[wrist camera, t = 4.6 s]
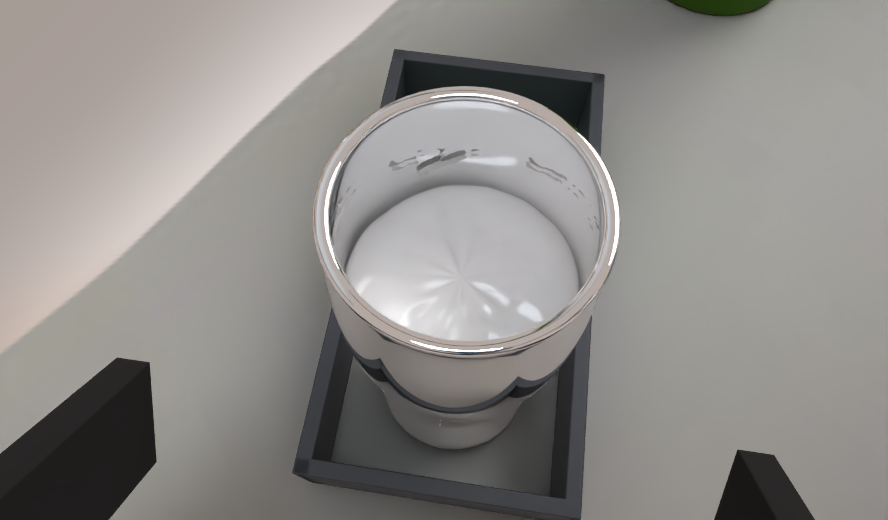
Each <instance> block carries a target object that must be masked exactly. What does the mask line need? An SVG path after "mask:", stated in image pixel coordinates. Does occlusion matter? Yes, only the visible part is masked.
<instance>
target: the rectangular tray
mask: <svg viewBox="0 0 888 520" xmlns="http://www.w3.org/2000/svg"><path fill="white" fill-rule="evenodd" d="M604 79H605V75H604V74H597V73H589V72H580V71H572V70H564V69H555V68H547V67H539V66H530V65H522V64H514V63H505V62H497V61H488V60H480V59H472V58H463V57H455V56H447V55H438V54H430V53H422V52H413V51H405V50H398V49H394V52H393V57H392V61H391V65H390V69H389V73H388V77H387V81H386V86H385V90H384V94H383V98H382V102H381V106H380V108H382V107H384V106H386V105H388V104H390V103H392V102H394V101H396V100H398V99H401V98H403V97H406V96H409V95H412V94H415V93H418V92H422V91H426V90H431V89H437V88H444V87H457V86H472V87H484V88H491V89H497V90H502V91H506V92H510V93H514V94H517V95H520V96H523V97H525V98H528V99H530V100H533V101H535V102H537V103H539V104H541V105H543V106H545V107H547V108H549V109H551V110H552V111H554V112H555V113H557V114H558V115H560V116H561V117H563V118H564V119H565V120H567V121H568V122H569V123H571V124H572V125H573V126H574V127H577V130H579V131H580V132H581V133H582V134H583V135H584V137H585V138H586V139H587V140H588V141H589V142H590V143H591V144H592V146H593V147H594V148H595V150H596V151H597V152H598V154H599V155H600V153H601V135H602V116H603V97H604ZM591 321H592V315H591V317H590V319H589V322H588V324H587V326H586V328H585V330H584V332H583V333H582V335H581V337H580V339H579V341H578V342H577V344H576V346H575V348H574V349H573V351H572V353H571V354H570V356H569V357H568V358H567V360H566V361H565V362H564V364H563V365H562V366H561V367H560V368H559V379H558V392H557V406H556V419H555V433H554V446H553V460H552V473H551V487H550V497H549V496H543V495H536V494H530V493H524V492H518V491H511V490H505V489H499V488H493V487H486V486H480V485H474V484H468V483H461V482H455V481H449V480H443V479H436V478H430V477H424V476H418V475H411V474H405V473H399V472H393V471H386V470H380V469H374V468H368V467H361V466H355V465H349V464H343V463H336V462H330V459H331V454H332V450H333V445H334V441H335V436H336V431H337V427H338V422H339V418H340V413H341V409H342V404H343V399H344V395H345V390H346V386H347V381H348V376H349V372H350V367H351V363H352V358H353V353H352V351H351V350H350V348H349V346H348V345H347V343H346V341H345V339H344V337H343V334H342V332H341V330H340V327H339V324H338V321H337V319H336V316H335V313H334V311H333V308H332V310H331V314H330V318H329V322H328V326H327V330H326V335H325V339H324V343H323V347H322V351H321V355H320V359H319V364H318V368H317V372H316V376H315V380H314V384H313V388H312V393H311V397H310V401H309V405H308V409H307V413H306V417H305V422H304V426H303V430H302V434H301V438H300V442H299V447H298V451H297V455H296V459H295V463H294V467H293V471H292V473H293V474H295V475H297V476H299V477H302V478H304V479H306V480H308V481H310V482H313V483H320V484H326V485H332V486H338V487H344V488H350V489H357V490H363V491H369V492H375V493H381V494H387V495H393V496H400V497H406V498H412V499H418V500H424V501H430V502H437V503H443V504H449V505H455V506H461V507H467V508H474V509H480V510H486V511H492V512H498V513H504V514H510V515H517V516H523V517H529V518H535V519H541V520H580V519H581V509H582V488H583V470H584V451H585V433H586V414H587V395H588V377H589V358H590V339H591Z"/></svg>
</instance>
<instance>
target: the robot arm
mask: <svg viewBox="0 0 888 520" xmlns="http://www.w3.org/2000/svg"><path fill="white" fill-rule="evenodd" d="M155 463H156V448H155V434H154V419H153V405H152V391H151V376H150V362H143V361H136V360H129V359H123V358H116V359H115V360H114V361H112V362H111V363H110V364H109V365H108V366H106V367H105V368H104V369H103V370H101V371H100V372H99V373H98V374H97V375H95V376H94V377H93V378H92V379H91V380H89V381H88V382H87V383H86V384H84V385H83V386H82V387H81V388H80V389H78V390H77V391H76V392H75V393H74V394H72V395H71V396H70V397H69V398H67V399H66V400H65V401H64V402H63V403H61V404H60V405H59V406H58V407H57V408H55V409H54V410H53V411H52V412H50V413H49V414H48V415H47V416H46V417H44V418H43V419H42V420H41V421H40V422H38V423H37V424H36V425H35V426H33V427H32V428H31V429H30V430H29V431H27V432H26V433H25V434H24V435H23V436H21V437H20V438H19V439H18V440H16V441H15V442H14V443H13V444H12V445H10V446H9V447H8V448H7V449H6V450H4V451H3V452H2V453H1V454H0V520H109V519H110V517H111V516H112V515H113V514H114V513H115V511H116V510H117V509H118V508H119V507H120V505H121V504H122V503H123V502H124V500H125V499H126V498H127V497H128V496H129V494H130V493H131V492H132V491H133V490H134V488H135V487H136V486H137V485H138V483H139V482H140V481H141V480H142V479H143V477H144V476H145V475H146V474H147V473H148V471H149V470H150V469H151V468H152V467H153V465H154V464H155ZM714 520H815V519H814V518H813V516H812V514H811V513H810V511H809V510H808V508H807V507H806V505H805V503H804V502H803V500H802V499H801V497H800V495H799V494H798V492H797V491H796V489H795V488H794V486H793V484H792V483H791V481H790V480H789V478H788V477H787V475H786V473H785V472H784V470H783V469H782V467H781V465H780V464H779V462H778V461H777V459H776V458H775V456H774V455H770V454H764V453H757V452H750V451H743V450H737V453H736V456H735V459H734V462H733V465H732V468H731V471H730V474H729V477H728V480H727V483H726V486H725V489H724V492H723V495H722V498H721V501H720V504H719V507H718V510H717V513H716V516H715V519H714Z"/></svg>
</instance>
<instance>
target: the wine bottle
mask: <svg viewBox="0 0 888 520" xmlns="http://www.w3.org/2000/svg"><path fill="white" fill-rule="evenodd" d="M671 1H672V2H674V3H675V4H677V5H680V6H682V7H685V8H687V9H690V10H693V11H695V12H701V13H706V14H711V15H737V14H741V13H746V12H751V11H753V10H755V9H757V8H759V7H761V6H763V5H765V4H767V3H768V2H769V1H770V0H671Z"/></svg>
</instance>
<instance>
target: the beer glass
mask: <svg viewBox="0 0 888 520" xmlns="http://www.w3.org/2000/svg"><path fill="white" fill-rule="evenodd" d="M620 231H621V217H620V208H619V202H618V197H617V193H616V189H615V186H614V183H613V181H612V178H611V176H610V173H609V171H608V169H607V167H606V165H605V164H604V162H603V160H602V159H601V157H600V155H599V154H598V152H597V151H596V150H595V148H594V147H593V146H592V144H591V143H590V142H589V141H588V140H587V139H586V138H585V137H584V135H583V134H582V133H581V132H580V131H579V130H577V129H576V128H575V127H574V126H573V125H572V124H571V123H569V122H568V121H567V120H565V119H564V118H563V117H561V116H560V115H558V114H557V113H555V112H554V111H552V110H551V109H549V108H547V107H545V106H543V105H541V104H539V103H537V102H535V101H533V100H530V99H528V98H525V97H523V96H520V95H517V94H514V93H510V92H506V91H502V90H497V89H491V88H484V87H472V86H457V87H444V88H437V89H431V90H426V91H422V92H418V93H415V94H412V95H409V96H406V97H403V98H401V99H398V100H396V101H394V102H392V103H390V104H388V105H386V106H384V107H382V108H380V109H379V110H377V111H375V112H374V113H372V114H371V115H370V116H368V117H367V118H365V119H364V120H363V121H362V122H360V123H359V124H358V125H357V126H356V127H355V128H354V129H352V130H351V131H350V132H349V134H348V135H347V136H346V137H345V138H344V139H343V140H342V141H341V143H340V144H339V145H338V146H337V148H336V149H335V151H334V152H333V154H332V155H331V157H330V159H329V160H328V162H327V164H326V166H325V168H324V170H323V173H322V175H321V178H320V180H319V184H318V187H317V191H316V195H315V201H314V209H313V232H314V239H315V245H316V249H317V253H318V256H319V259H320V262H321V265H322V267H323V270H324V276H325V280H326V284H327V289H328V293H329V297H330V301H331V304H332V308H333V311H334V313H335V316H336V319H337V321H338V324H339V327H340V330H341V332H342V334H343V337H344V339H345V341H346V343H347V345H348V346H349V348H350V350H351V351H352V353H353V355H354V356H355V358H356V360H357V361H358V363H359V364H360V366H361V367H362V369H363V370H364V371H365V373H366V374H367V375H368V376H369V377H370V379H371V380H372V381H373V382H374V383H375V384H376V385H377V386H378V387H379V388H381V389H382V390H383V391H384V394H385V398H386V401H387V404H388V406H389V409H390V411H391V413H392V414H393V416H394V417H395V419H396V420H397V422H398V423H399V424H400V425H401V426H402V427H403V428H404V429H405V430H406V431H407V432H408V433H409V434H410V435H412V436H413V437H414V438H416V439H418V440H419V441H421V442H423V443H425V444H428V445H431V446H434V447H437V448H443V449H465V448H470V447H474V446H477V445H480V444H482V443H485V442H487V441H489V440H490V439H492V438H493V437H495V436H496V435H498V434H499V433H500V432H501V431H502V430H503V429H504V428H505V427H506V426H507V425H508V423H509V422H510V421H511V420H512V418H513V417H514V415H515V413H516V412H517V410H518V407H519V405H520V403H521V402H523V401H524V400H526V399H528V398H529V397H531V396H532V395H533V394H535V393H536V392H537V391H539V390H540V389H541V388H542V387H543V386H544V385H545V384H546V383H547V382H548V381H549V380H550V379H551V378H552V377H553V375H554V374H555V373H556V372H557V371H558V370H559V368H560V367H561V366H562V365H563V364H564V362H565V361H566V360H567V358H568V357H569V356H570V354H571V353H572V351H573V349H574V348H575V346H576V344H577V342H578V341H579V339H580V337H581V335H582V333H583V332H584V330H585V328H586V326H587V324H588V322H589V319H590V317H591V315H592V312H593V310H594V308H595V305H596V303H597V300H598V298H599V295H600V292H601V290H602V288H603V287H604V285H605V283H606V281H607V279H608V278H609V275H610V273H611V271H612V268H613V266H614V263H615V259H616V256H617V252H618V247H619V241H620Z"/></svg>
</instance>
